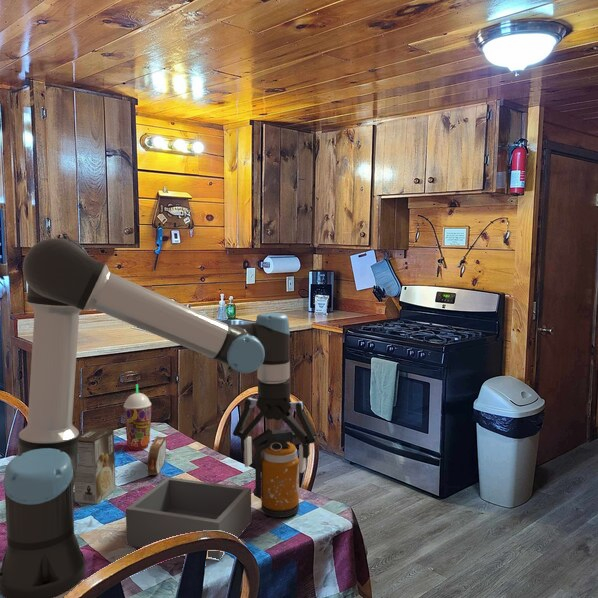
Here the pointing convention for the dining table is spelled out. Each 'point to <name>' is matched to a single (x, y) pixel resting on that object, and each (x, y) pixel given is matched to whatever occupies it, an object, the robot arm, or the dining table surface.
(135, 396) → the smoothie
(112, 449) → the coffee box
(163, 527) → the bin
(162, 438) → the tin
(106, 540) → the dining table surface
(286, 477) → the canister
